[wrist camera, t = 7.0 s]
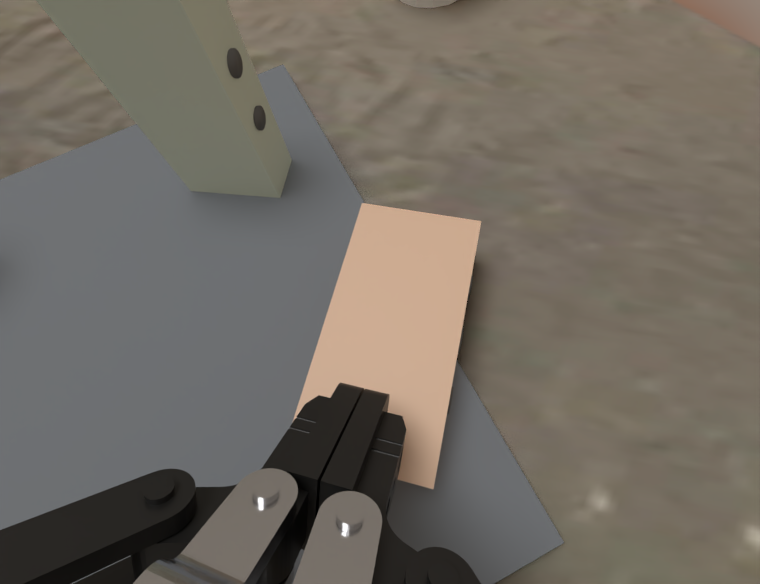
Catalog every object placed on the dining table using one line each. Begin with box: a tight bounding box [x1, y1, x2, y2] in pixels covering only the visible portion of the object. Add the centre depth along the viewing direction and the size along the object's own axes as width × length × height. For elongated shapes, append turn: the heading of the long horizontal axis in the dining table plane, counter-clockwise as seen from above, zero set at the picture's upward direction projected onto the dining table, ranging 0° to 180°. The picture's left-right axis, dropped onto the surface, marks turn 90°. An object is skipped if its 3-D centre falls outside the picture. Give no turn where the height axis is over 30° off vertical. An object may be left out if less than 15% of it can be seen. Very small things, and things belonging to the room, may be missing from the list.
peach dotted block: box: [292, 203, 481, 489], centre depth 16 cm, size 2×5×10 cm
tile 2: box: [36, 0, 292, 198], centre depth 17 cm, size 2×5×10 cm, turn 81°
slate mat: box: [0, 65, 564, 584], centre depth 18 cm, size 26×28×1 cm
